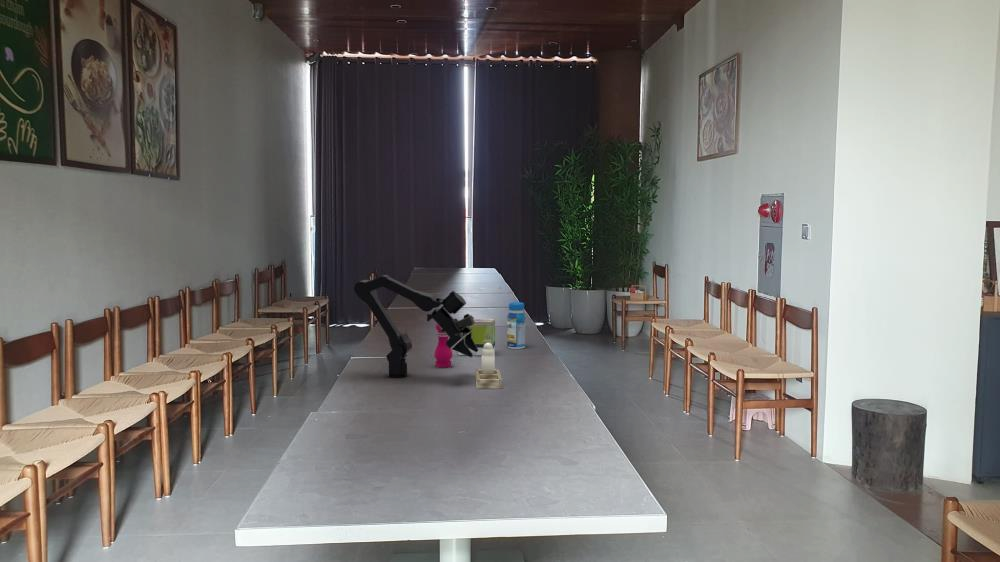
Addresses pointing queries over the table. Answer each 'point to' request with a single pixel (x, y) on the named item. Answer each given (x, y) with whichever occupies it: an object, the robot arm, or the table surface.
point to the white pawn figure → (488, 359)
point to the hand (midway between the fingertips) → (474, 353)
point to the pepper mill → (442, 349)
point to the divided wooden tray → (488, 380)
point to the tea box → (482, 334)
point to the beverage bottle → (516, 326)
